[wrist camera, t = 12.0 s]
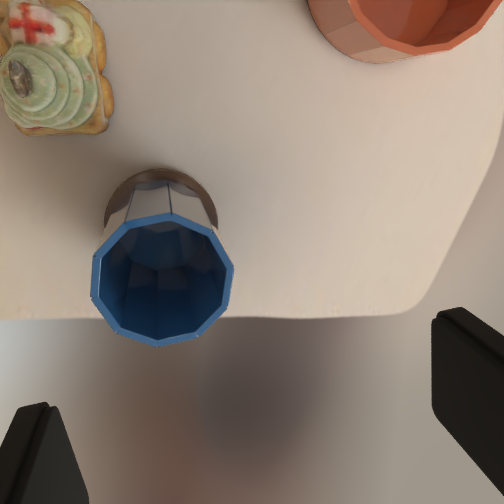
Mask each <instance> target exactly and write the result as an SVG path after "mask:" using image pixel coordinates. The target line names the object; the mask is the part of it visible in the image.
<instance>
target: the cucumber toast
mask: <svg viewBox="0 0 504 504" xmlns="http://www.w3.org/2000/svg"><path fill="white" fill-rule="evenodd" d="M0 54H1V56H2V59H1V64H0V93H1V96H2V98H3V100H4V108H5V111H6V114H7V115H8V116H9V117H10V119H11V120H13V121H14V122H15V125H16V127H17V128H18V129H19V130H20V131H21V132H22V133H23V134H25V135H27V136H53V135H68V134H100V133H102V132H104V131H105V130H106V129H107V128H108V119H109V117H110V116H111V115H112V113H113V108H114V100H113V93H112V88H111V85H110V83H109V81H108V79H107V78H105V77H104V76H102V70H103V68H104V67H105V64H106V47H105V39H104V35H103V32H102V29H101V28H100V27H99V26H98V25H97V23H96V21H95V19H94V17H93V15H92V13H91V12H90V11H89V10H88V9H87V8H86V7H85V6H84V5H83V4H81V3H80V2H78V1H76V0H0Z"/></svg>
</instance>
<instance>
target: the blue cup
mask: <svg viewBox="0 0 504 504" xmlns="http://www.w3.org/2000/svg"><path fill="white" fill-rule="evenodd" d="M233 274H234V265H233V263H232V261H231V259H230V257H229V255H228V252H227V250H226V248H225V246H224V244H223V242H222V240H221V237H220V235H219V233H218V231H217V229H216V227H215V225H214V222H213V220H212V218H211V216H210V215H209V213H208V211H207V209H206V207H205V206H204V204H203V202H202V200H201V198H200V197H199V195H198V193H196V192H195V191H193V190H191V189H189V188H188V187H186V186H184V185H182V184H180V183H177V182H174V181H172V180H169V179H168V180H167V179H163V180H152V181H148V182H144V183H142V184H137V185H136V186H134V187H133V188H132V189H131V190H130V191H129V192H128V193H127V194H126V195H125V196H124V197H123V198H122V199H121V201H120V202H119V203H118V204H117V205H116V206H115V207H114V209H113V211H112V214H111V216H110V218H109V221H108V223H107V225H106V228H105V230H104V232H103V234H102V237H101V239H100V241H99V244H98V246H97V248H96V250H95V253H94V255H93V259H92V275H91V291H90V297H92V298H91V300H92V302H93V303H94V305H95V306H96V307H97V309H98V310H99V311H100V313H101V314H102V316H103V317H104V318H105V320H106V321H107V322H108V324H109V325H110V327H111V328H112V329H113V331H114V332H116V331H117V334H119V335H122V336H125V337H128V338H131V339H134V340H137V341H139V342H143V343H146V344H148V345H151V346H154V347H156V345H157V346H158V347H160V346H165V345H169V344H173V343H178V342H182V341H186V340H190V339H195V338H197V337H198V336H201V335H202V334H203V333H204V332H205V331H206V330H207V329H208V328H209V327H210V326H211V325H212V324H213V323H214V322H215V321H216V320H217V319H218V318H219V317H220V316H221V315H222V314H223V313H224V312H225V311H226V310H227V307H228V306H229V300H230V294H231V287H232V281H233Z"/></svg>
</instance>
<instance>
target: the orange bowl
mask: <svg viewBox="0 0 504 504" xmlns="http://www.w3.org/2000/svg"><path fill="white" fill-rule="evenodd" d="M307 1H308V5H309V8H310V11H311V13H312V16H313V18H314V21H315V22H316V24H317V26H318V28H319V30H320V31H321V32H322V34H323V35H324V36H325V38H326V39H327V40H328V41H329V42H330V43H331V44H332V45H333V46H334V47H335V48H337V49H338V50H339V51H340V52H342V53H344V54H345V55H347V56H349V57H351V58H354V59H356V60H359V61H364V62H369V63H375V64H378V63H385V62H391V61H397V60H403V59H409V58H414V57H419V56H425V55H430V54H435V53H441V52H446V51H449V50H451V49H453V48H454V47H456V46H458V45H459V44H461V43H462V42H464V41H465V40H467V39H468V38H470V37H471V36H473V35H474V34H476V33H477V32H479V31H480V30H481V29H482V27H483V26H484V25H485V23H486V22H487V21H488V19H489V18H490V17H491V15H492V14H493V13H494V11H495V10H496V9H497V7H498V6H499V5H500V3H501V2H502V1H503V0H307Z"/></svg>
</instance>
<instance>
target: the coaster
mask: <svg viewBox="0 0 504 504" xmlns="http://www.w3.org/2000/svg"><path fill="white" fill-rule="evenodd" d="M163 179H167V180H168V179H169V180H172V181H174V182H177V183H180V184H182V185H184V186H186V187H188V188H189V189H191V190H193V191H195V192H196V193H198V195H199V197H200V198H201V200H202V202H203V204H204V206H205V207H206V209H207V211H208V213H209V215H210V216H211V218H212V220H213V222H214V225H215V227H216V229H217V231H218V218H217V213H216V209H215V206H214V204H213V201H212V200H211V198H210V196H209V194H208V193H207V192H206V190H205V189H204V188H203V187H202V186H201V185H200V184H199V183H198V182H197V181H195V180H194V179H193V178H191V177H189V176H187V175H185V174H183V173H181V172H177V171H174V170H168V169H153V170H147V171H143V172H141V173H138V174H136V175H134V176H132V177H130V178H129V179H127V180H126V181H125V182H123V183H122V184H121V185H120V186H119V187H118V188H117V190H116V191H115V192H114V194H113V195H112V197H111V199H110V201H109V203H108V206H107V208H106V212H105V219H104V228H106V225H107V223H108V221H109V218H110V216H111V214H112V211H113V209H114V207H115V206H116V205H117V204H118V203H119V202H120V201H121V199H122V198H123V197H124V196H125V195H126V194H127V193H128V192H129V191H130V190H131V189H132V188H133V187H134V186H136V185H137V184H142V183H144V182H148V181H152V180H163Z"/></svg>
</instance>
